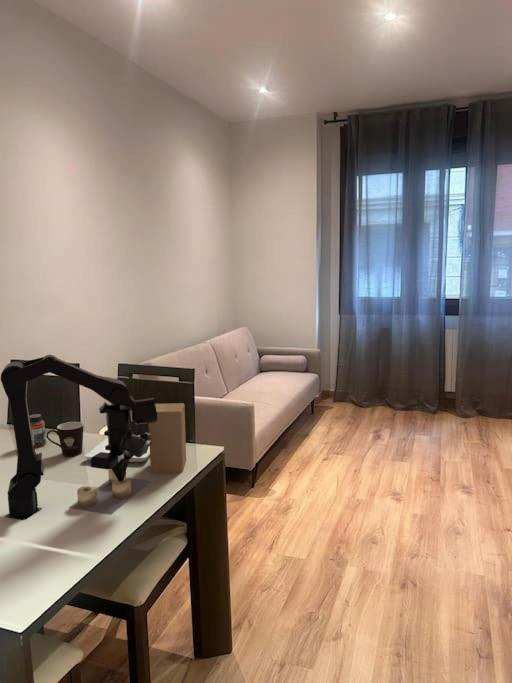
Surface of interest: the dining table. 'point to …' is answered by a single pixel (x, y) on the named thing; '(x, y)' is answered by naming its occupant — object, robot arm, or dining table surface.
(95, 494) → the one dot puck
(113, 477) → the two dot puck
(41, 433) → the supplement bottle
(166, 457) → the wooden block
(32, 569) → the dining table surface
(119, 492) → the plain puck
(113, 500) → the mat
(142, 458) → the salad plate
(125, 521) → the dining table surface
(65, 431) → the coffee mug
